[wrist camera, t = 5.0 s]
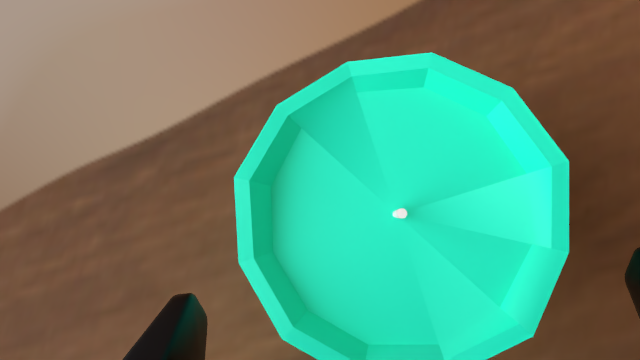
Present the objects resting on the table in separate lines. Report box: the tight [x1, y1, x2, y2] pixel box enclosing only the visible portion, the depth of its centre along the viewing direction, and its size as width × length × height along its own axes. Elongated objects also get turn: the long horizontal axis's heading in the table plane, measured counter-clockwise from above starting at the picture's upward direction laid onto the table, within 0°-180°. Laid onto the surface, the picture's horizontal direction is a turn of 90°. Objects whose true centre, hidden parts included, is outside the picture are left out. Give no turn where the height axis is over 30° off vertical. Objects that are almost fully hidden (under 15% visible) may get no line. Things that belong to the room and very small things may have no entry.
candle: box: [234, 52, 569, 360], centre depth 12 cm, size 6×6×12 cm
